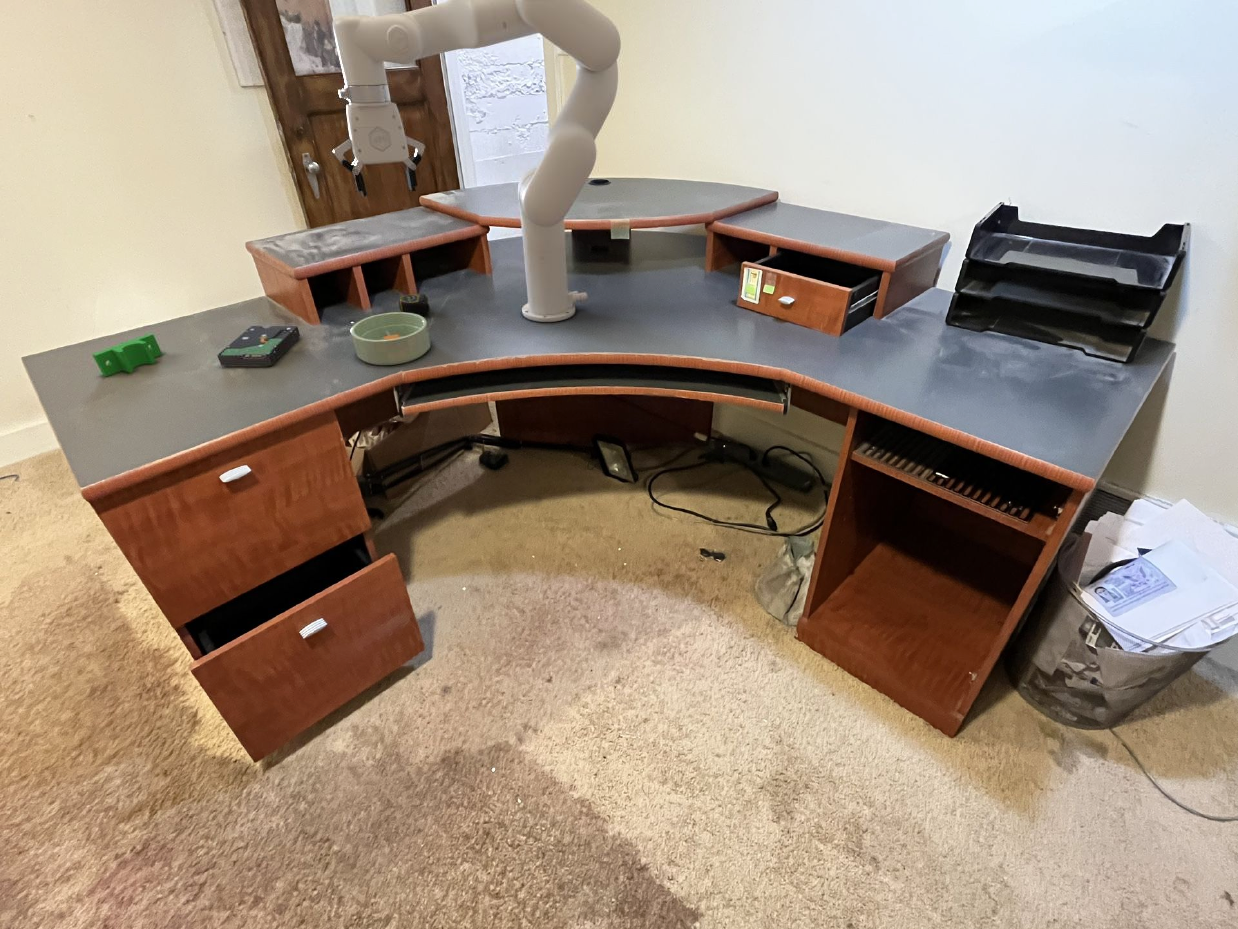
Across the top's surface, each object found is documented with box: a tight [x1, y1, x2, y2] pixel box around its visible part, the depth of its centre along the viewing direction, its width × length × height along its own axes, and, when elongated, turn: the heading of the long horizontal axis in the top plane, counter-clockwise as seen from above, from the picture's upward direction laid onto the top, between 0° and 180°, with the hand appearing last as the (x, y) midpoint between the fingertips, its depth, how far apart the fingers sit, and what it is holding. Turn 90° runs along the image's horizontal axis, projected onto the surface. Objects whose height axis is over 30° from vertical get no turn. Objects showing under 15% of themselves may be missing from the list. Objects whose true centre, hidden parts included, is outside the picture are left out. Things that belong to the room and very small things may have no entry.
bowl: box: [349, 311, 432, 366], centre depth 130 cm, size 15×15×6 cm
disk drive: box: [217, 325, 301, 367], centre depth 130 cm, size 10×3×15 cm
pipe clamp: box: [91, 333, 163, 377], centre depth 124 cm, size 11×4×5 cm, turn 153°
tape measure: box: [398, 293, 430, 316], centre depth 147 cm, size 7×7×4 cm
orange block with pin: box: [383, 330, 400, 340], centre depth 130 cm, size 12×3×3 cm, turn 27°
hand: (388, 192), depth 127 cm, fingers open, 9 cm apart
